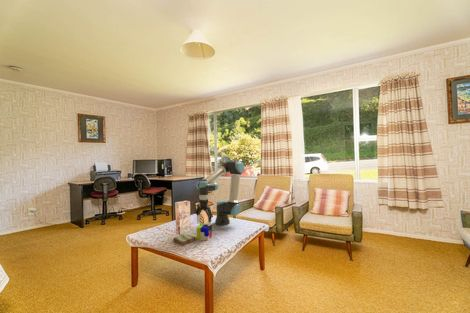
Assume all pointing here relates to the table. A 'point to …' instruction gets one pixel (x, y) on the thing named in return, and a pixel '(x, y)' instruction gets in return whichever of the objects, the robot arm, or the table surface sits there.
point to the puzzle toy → (204, 232)
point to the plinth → (184, 239)
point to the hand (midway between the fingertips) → (203, 224)
